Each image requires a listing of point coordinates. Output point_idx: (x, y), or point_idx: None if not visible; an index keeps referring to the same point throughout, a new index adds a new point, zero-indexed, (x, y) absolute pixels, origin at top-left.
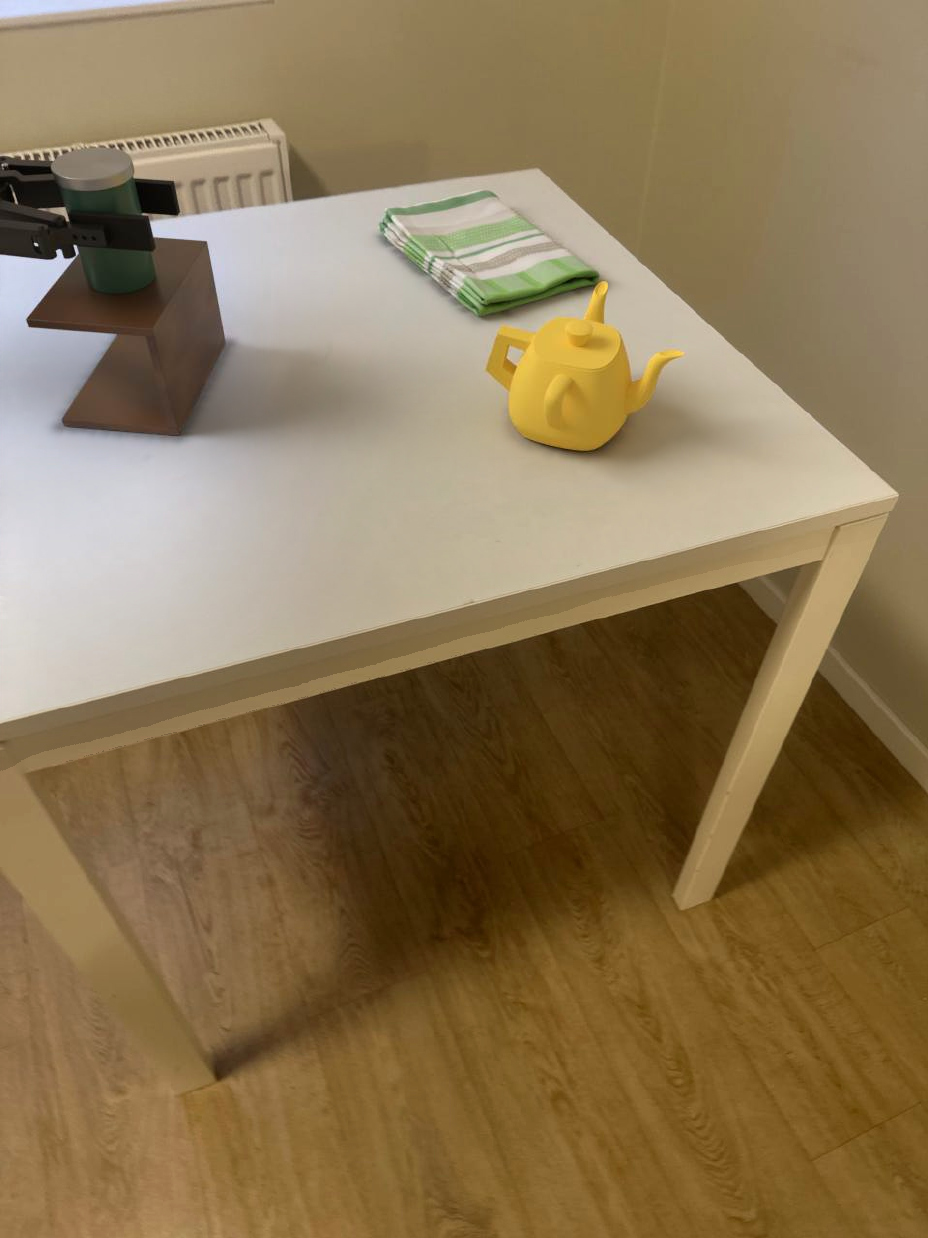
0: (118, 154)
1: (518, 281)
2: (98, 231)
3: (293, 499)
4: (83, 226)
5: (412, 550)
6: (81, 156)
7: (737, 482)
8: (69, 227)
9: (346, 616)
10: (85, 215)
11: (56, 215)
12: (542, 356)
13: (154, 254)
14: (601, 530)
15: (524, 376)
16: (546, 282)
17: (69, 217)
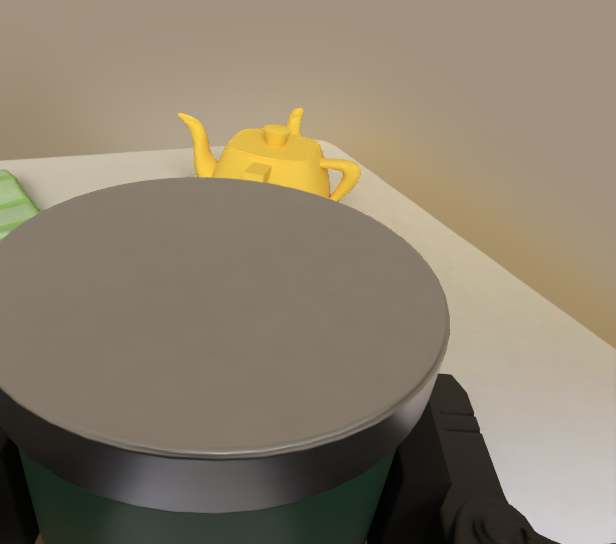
0: (120, 205)
1: (2, 212)
2: (461, 389)
3: (474, 409)
4: (459, 439)
5: (493, 314)
6: (133, 313)
7: (331, 172)
8: (496, 489)
9: (604, 354)
10: (431, 410)
11: (494, 531)
12: (305, 159)
13: (40, 540)
14: (409, 223)
15: (305, 186)
16: (20, 195)
17: (444, 492)
